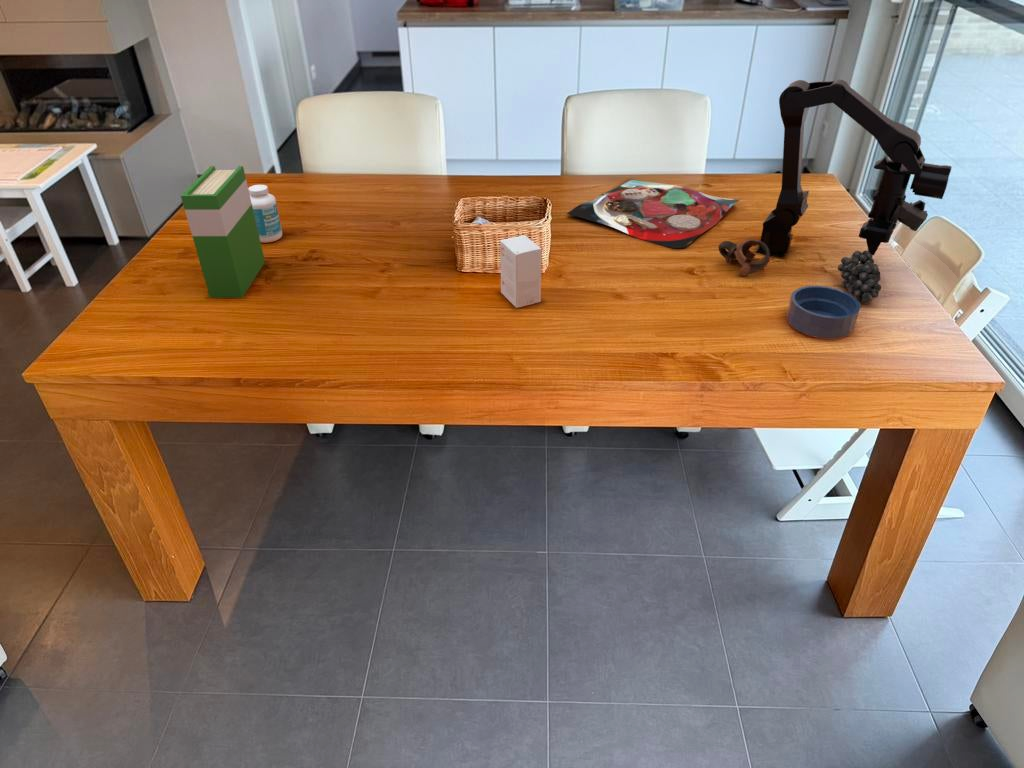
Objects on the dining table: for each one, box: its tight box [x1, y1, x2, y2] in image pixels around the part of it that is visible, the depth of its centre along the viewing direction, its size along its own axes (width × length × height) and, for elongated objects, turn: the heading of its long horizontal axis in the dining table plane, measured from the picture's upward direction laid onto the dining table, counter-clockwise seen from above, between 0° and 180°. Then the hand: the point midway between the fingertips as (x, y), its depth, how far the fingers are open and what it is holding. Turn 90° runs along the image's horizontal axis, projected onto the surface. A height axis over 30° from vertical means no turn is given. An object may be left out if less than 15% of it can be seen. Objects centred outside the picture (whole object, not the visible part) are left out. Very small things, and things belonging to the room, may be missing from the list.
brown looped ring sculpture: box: [717, 238, 771, 277], centre depth 174 cm, size 12×10×8 cm
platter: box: [566, 179, 740, 250], centre depth 202 cm, size 35×35×2 cm
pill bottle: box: [248, 184, 283, 244], centre depth 188 cm, size 8×7×14 cm
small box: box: [499, 234, 543, 309], centre depth 161 cm, size 8×6×13 cm
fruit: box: [837, 250, 882, 305], centre depth 163 cm, size 9×8×15 cm
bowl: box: [786, 285, 862, 340], centre depth 153 cm, size 13×13×6 cm
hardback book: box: [180, 165, 266, 299], centre depth 166 cm, size 18×7×24 cm, turn 179°
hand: (871, 254), depth 172 cm, fingers closed
